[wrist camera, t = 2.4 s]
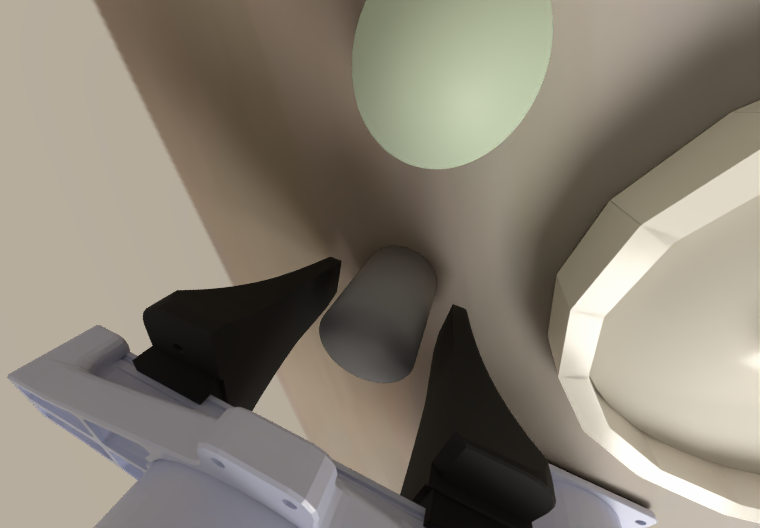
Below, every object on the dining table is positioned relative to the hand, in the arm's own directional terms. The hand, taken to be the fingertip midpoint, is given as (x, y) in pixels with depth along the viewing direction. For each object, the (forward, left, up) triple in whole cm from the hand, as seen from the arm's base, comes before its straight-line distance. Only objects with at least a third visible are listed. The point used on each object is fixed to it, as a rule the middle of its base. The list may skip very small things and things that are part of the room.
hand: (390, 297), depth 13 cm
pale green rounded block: (+9, 0, -2) cm, 9 cm away
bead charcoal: (0, 0, -2) cm, 2 cm away
